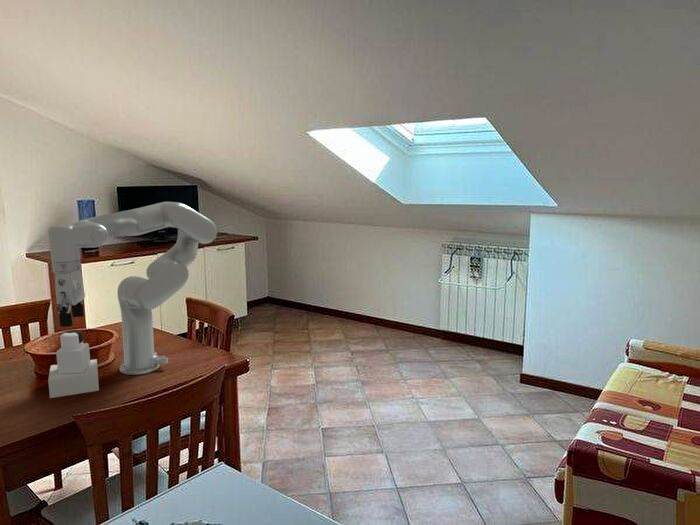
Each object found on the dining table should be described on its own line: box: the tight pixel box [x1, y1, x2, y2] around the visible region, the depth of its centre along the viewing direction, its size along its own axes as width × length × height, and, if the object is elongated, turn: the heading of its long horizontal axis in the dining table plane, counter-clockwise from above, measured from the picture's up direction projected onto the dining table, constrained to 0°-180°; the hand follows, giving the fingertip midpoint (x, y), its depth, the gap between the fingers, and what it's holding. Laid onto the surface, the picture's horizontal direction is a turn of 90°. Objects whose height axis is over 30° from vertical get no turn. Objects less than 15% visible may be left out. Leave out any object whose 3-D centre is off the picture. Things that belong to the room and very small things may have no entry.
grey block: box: [47, 358, 100, 399], centre depth 160 cm, size 13×13×6 cm
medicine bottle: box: [55, 329, 91, 374], centre depth 158 cm, size 7×7×12 cm
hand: (72, 321), depth 157 cm, fingers open, 9 cm apart
